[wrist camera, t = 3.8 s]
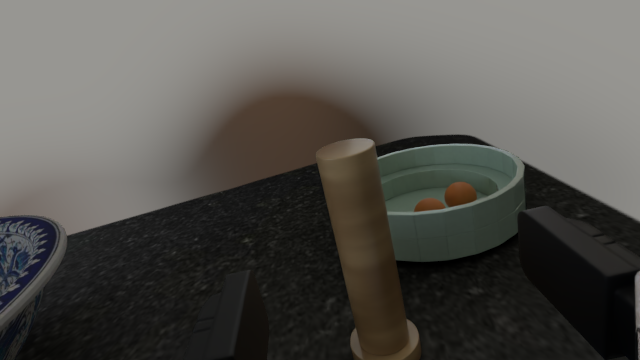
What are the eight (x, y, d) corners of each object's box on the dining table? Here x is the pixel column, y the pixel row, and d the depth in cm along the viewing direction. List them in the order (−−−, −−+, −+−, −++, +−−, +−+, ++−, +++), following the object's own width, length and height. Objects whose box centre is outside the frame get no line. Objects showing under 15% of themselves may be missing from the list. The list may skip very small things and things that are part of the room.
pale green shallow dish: (566, 206, 39) (565, 155, 37) (438, 295, 31) (430, 236, 29) (427, 174, 53) (422, 137, 51) (316, 230, 45) (306, 188, 43)
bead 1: (455, 226, 38) (452, 196, 37) (433, 239, 37) (429, 209, 36) (431, 217, 41) (427, 190, 40) (409, 230, 40) (404, 202, 39)
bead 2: (484, 208, 40) (482, 180, 39) (464, 220, 39) (461, 191, 38) (459, 201, 43) (456, 174, 42) (439, 212, 41) (436, 185, 40)
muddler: (436, 351, 26) (403, 138, 21) (383, 392, 24) (334, 168, 19) (389, 318, 30) (352, 131, 25) (340, 352, 28) (289, 155, 23)
